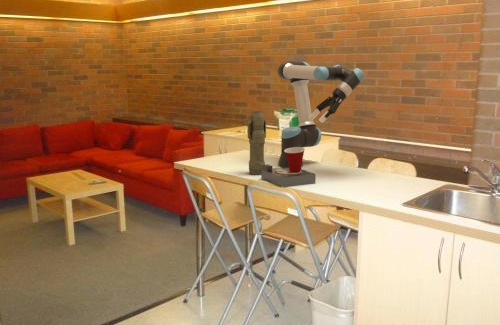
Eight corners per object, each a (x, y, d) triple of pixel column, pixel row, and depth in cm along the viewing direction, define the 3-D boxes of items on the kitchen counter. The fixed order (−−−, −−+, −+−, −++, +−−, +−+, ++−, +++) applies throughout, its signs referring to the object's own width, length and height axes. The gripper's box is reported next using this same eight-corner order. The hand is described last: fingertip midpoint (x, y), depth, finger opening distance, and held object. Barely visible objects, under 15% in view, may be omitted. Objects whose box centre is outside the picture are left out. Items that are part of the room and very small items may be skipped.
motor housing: (261, 178, 263) (261, 164, 261) (292, 175, 272) (293, 161, 270) (282, 187, 244) (282, 171, 242) (315, 183, 253) (315, 168, 251)
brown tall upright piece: (243, 173, 275) (243, 111, 269) (258, 170, 283) (259, 110, 277) (254, 176, 269) (254, 112, 262) (269, 173, 277) (270, 111, 270)
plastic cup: (281, 170, 257) (280, 148, 254) (299, 168, 261) (299, 146, 258) (289, 175, 247) (289, 152, 245) (308, 172, 251) (308, 149, 248)
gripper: (356, 98, 256) (329, 127, 255) (336, 95, 280) (310, 122, 279) (348, 88, 254) (320, 117, 253) (328, 86, 277) (302, 113, 276)
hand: (315, 120), depth 266 cm, fingers open, 13 cm apart
